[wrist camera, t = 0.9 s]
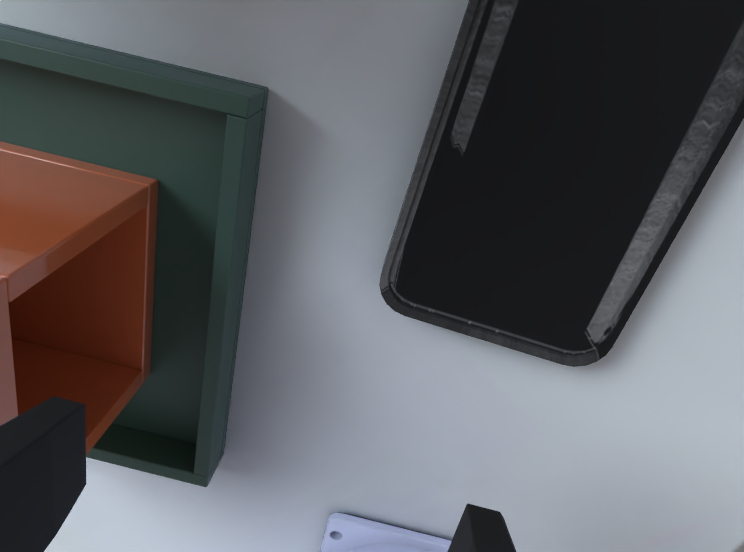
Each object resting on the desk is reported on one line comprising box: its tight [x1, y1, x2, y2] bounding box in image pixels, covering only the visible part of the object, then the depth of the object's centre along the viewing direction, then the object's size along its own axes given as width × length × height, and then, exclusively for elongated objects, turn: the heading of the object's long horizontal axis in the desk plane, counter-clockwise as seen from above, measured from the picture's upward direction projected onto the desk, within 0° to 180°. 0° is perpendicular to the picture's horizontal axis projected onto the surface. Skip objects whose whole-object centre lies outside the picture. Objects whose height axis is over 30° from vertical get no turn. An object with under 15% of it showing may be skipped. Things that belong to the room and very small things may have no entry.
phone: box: [380, 0, 744, 367], centre depth 16 cm, size 8×1×15 cm
